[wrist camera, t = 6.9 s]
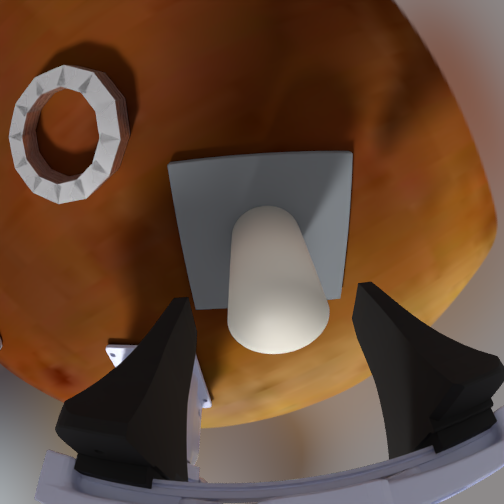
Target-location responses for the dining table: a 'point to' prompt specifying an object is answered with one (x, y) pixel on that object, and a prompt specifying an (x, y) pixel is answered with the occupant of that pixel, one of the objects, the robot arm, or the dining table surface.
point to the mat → (255, 195)
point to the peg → (273, 284)
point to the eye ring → (109, 126)
